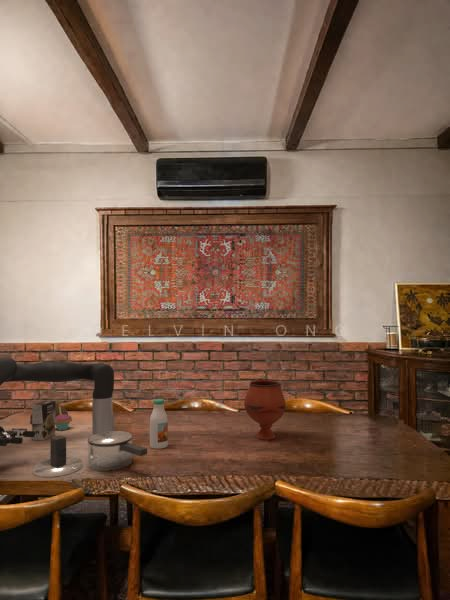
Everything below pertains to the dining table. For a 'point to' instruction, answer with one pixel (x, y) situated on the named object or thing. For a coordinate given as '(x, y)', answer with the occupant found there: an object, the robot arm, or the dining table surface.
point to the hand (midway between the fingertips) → (28, 437)
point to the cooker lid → (57, 461)
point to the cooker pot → (112, 450)
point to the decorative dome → (56, 411)
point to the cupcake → (62, 421)
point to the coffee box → (43, 420)
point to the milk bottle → (158, 426)
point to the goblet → (265, 405)
